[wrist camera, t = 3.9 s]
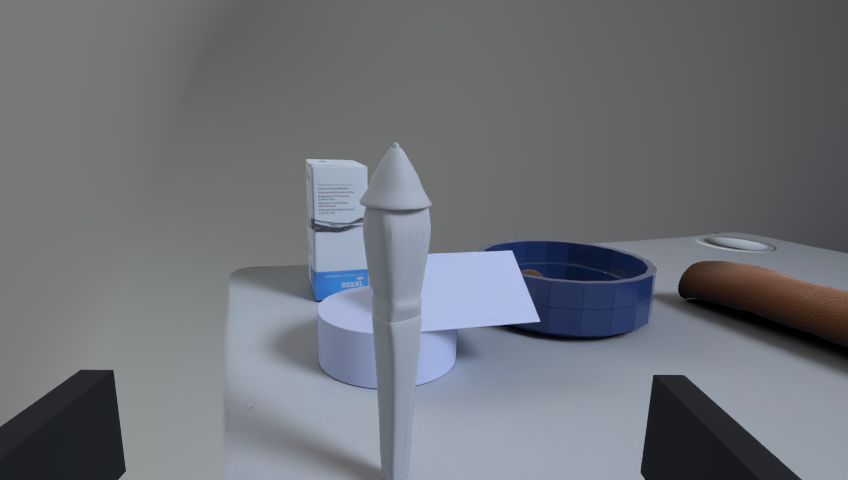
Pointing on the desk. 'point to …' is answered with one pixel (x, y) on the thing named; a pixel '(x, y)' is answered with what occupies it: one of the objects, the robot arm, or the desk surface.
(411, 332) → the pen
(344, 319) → the wedge on round base
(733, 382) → the desk surface
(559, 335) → the bowl
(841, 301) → the sunglasses case
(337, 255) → the ink box
